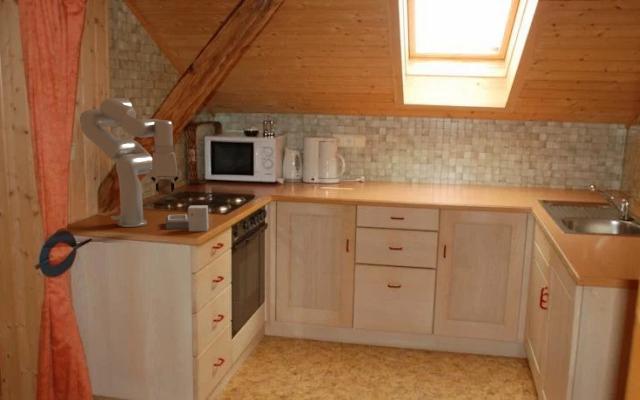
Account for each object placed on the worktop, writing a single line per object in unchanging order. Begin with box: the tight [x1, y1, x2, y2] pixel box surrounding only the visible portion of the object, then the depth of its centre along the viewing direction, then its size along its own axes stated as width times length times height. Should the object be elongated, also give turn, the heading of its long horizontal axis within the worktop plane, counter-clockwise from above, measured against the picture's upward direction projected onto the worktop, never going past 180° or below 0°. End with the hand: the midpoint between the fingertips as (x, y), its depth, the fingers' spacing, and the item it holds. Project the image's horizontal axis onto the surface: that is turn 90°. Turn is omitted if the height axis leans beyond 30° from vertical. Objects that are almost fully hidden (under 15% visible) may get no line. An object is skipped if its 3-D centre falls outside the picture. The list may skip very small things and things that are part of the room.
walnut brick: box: [158, 178, 173, 196], centre depth 262 cm, size 5×7×6 cm
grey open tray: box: [165, 213, 189, 230], centre depth 275 cm, size 10×12×4 cm
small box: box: [187, 204, 210, 232], centre depth 267 cm, size 8×6×10 cm
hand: (165, 191), depth 263 cm, fingers closed on walnut brick, 5 cm apart
